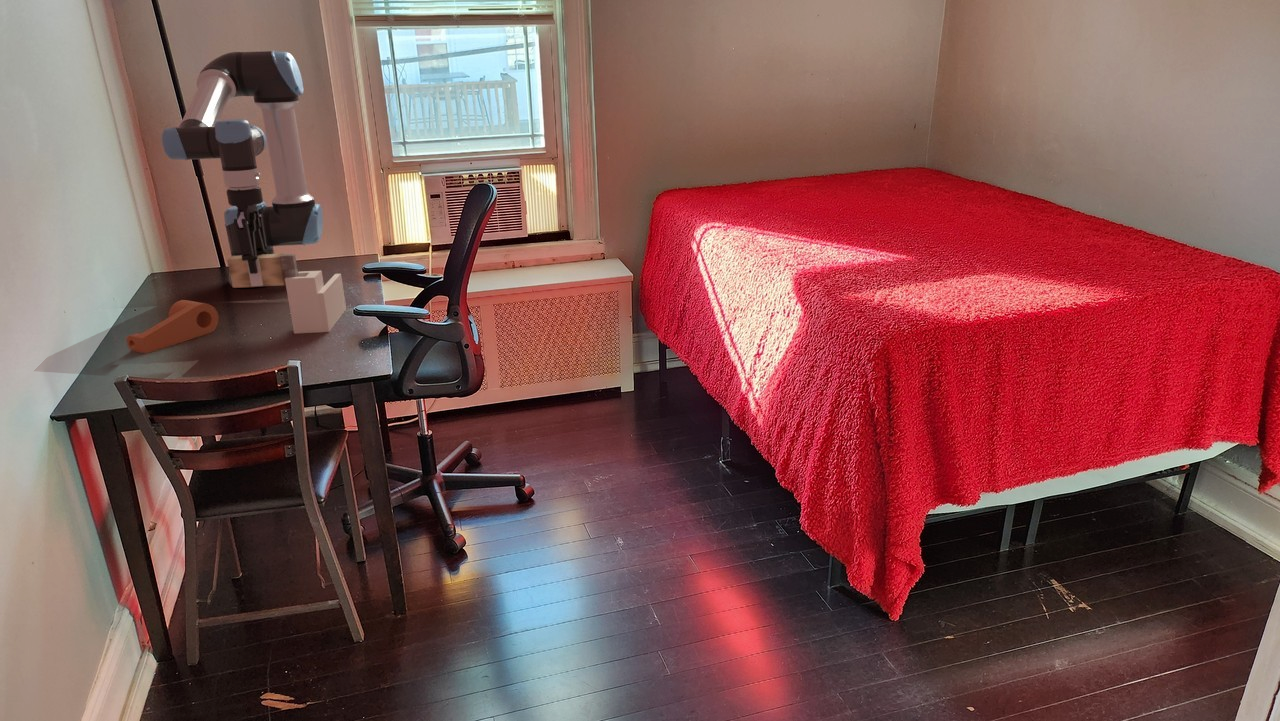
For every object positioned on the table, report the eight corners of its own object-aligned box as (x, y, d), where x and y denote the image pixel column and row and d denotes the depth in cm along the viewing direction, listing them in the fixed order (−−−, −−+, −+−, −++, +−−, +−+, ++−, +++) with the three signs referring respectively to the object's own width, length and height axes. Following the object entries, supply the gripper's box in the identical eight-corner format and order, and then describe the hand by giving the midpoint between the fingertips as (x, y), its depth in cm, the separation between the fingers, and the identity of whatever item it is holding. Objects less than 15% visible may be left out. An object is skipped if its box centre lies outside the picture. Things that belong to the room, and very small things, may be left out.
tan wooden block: (232, 287, 204) (227, 259, 201) (238, 283, 207) (232, 255, 205) (296, 284, 205) (291, 256, 203) (300, 280, 209) (296, 253, 206)
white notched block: (294, 333, 208) (284, 278, 203) (313, 311, 226) (305, 260, 221) (329, 331, 209) (320, 277, 204) (346, 309, 227) (338, 258, 222)
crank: (200, 326, 216) (194, 296, 213) (221, 330, 212) (215, 300, 209) (125, 349, 199) (117, 317, 196) (146, 354, 196) (138, 322, 193)
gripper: (248, 192, 190) (265, 291, 198) (270, 181, 206) (286, 274, 214) (213, 193, 190) (232, 293, 198) (238, 182, 206) (255, 275, 214)
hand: (260, 283), depth 206 cm, fingers closed on tan wooden block, 4 cm apart
